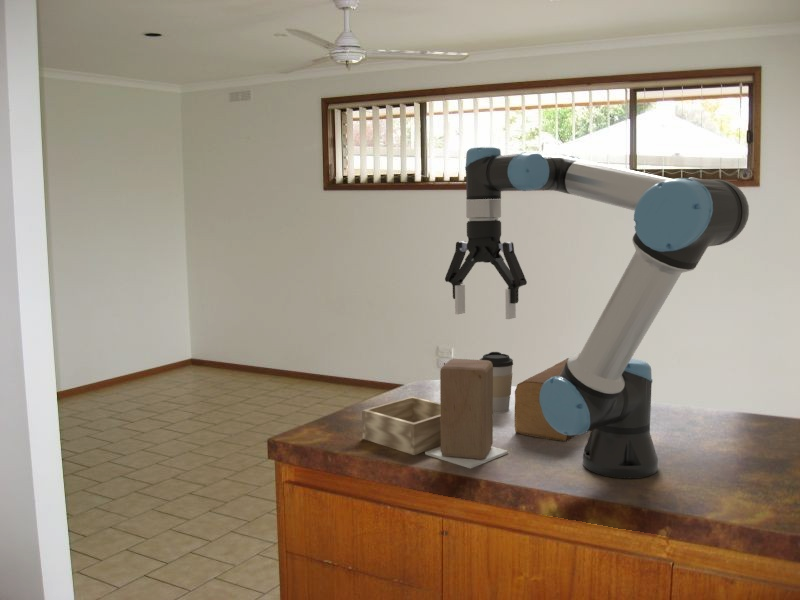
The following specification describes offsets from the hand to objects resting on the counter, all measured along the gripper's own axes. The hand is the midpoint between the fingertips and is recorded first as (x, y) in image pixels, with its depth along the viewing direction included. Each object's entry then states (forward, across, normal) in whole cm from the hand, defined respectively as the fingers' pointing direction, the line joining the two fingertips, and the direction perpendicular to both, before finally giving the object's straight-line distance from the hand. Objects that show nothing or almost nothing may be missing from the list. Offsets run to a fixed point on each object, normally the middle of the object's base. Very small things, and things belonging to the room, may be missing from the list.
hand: (484, 316), depth 168 cm
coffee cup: (+30, +17, -28) cm, 45 cm away
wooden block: (+30, +1, +6) cm, 31 cm away
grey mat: (+30, +1, +6) cm, 31 cm away
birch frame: (+30, +18, +5) cm, 35 cm away
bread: (+31, -3, -31) cm, 44 cm away
